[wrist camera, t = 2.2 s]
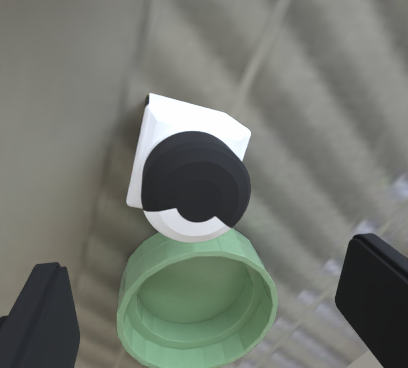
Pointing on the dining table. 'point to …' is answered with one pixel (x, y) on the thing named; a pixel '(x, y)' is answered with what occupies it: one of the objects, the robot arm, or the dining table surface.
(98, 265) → the dining table surface
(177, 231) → the medicine bottle
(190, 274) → the bowl
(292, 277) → the dining table surface
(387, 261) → the robot arm
